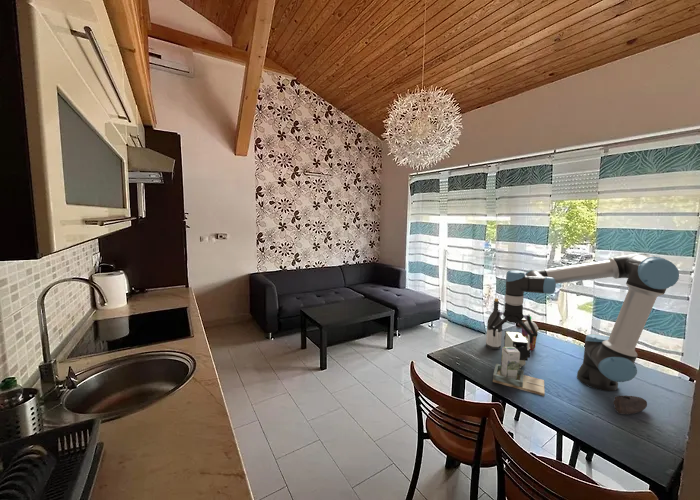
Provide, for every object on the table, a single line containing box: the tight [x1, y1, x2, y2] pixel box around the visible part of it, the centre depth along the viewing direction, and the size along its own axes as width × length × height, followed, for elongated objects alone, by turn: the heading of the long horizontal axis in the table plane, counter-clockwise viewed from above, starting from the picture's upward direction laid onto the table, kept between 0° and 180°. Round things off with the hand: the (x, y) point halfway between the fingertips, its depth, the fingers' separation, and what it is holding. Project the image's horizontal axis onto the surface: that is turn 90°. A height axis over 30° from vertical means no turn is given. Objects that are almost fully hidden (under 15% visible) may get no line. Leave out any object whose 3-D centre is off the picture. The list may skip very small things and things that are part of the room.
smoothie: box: [521, 315, 539, 352], centre depth 177 cm, size 8×8×20 cm
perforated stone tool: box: [612, 394, 648, 415], centre depth 122 cm, size 15×5×7 cm, turn 96°
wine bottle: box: [485, 297, 503, 350], centre depth 179 cm, size 8×8×30 cm
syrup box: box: [500, 346, 520, 380], centre depth 145 cm, size 6×6×14 cm
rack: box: [492, 363, 546, 397], centre depth 143 cm, size 21×12×4 cm, turn 58°
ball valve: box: [503, 330, 531, 370], centre depth 158 cm, size 18×8×18 cm, turn 168°
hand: (511, 346), depth 143 cm, fingers open, 13 cm apart
